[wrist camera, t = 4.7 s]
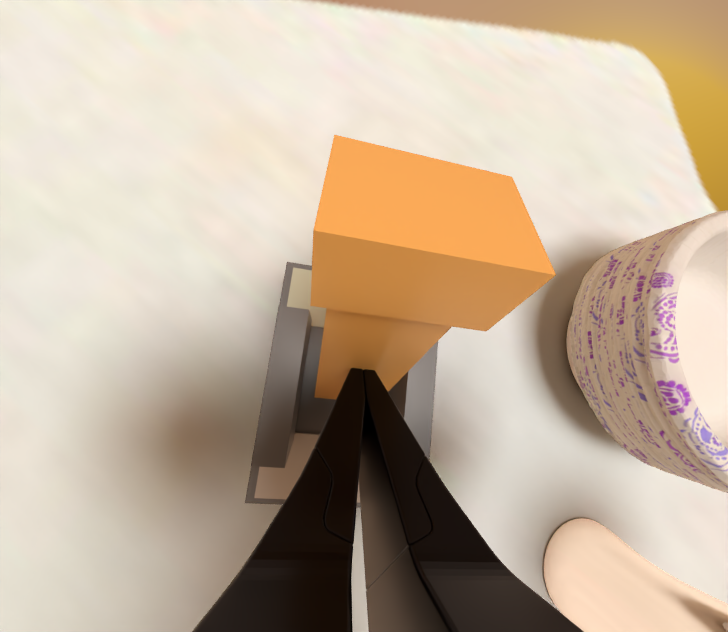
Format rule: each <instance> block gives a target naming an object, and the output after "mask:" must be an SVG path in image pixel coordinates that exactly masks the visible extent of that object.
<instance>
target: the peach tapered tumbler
mask: <svg viewBox="0 0 728 632" xmlns="http://www.w3.org/2000/svg"><path fill="white" fill-rule="evenodd" d="M544 579H545V584H546V587H547V590H548V593H549V595H550V597H551V599H552V601H553V603H554V604H555V606H556V607H557V608H558V610H559V611H560V612H561V613H562V614H563V615H564V616H565V617H566V618H568V619H569V620H570V621H571V622H573V623H574V624H575V625H576V626H578V627H579V628H580V629H581V630H583V631H584V632H728V604H727V603H725V602H723V601H721V600H719V599H717V598H714V597H712V596H710V595H708V594H706V593H704V592H702V591H700V590H698V589H696V588H694V587H692V586H690V585H688V584H686V583H684V582H682V581H680V580H679V579H677V578H675V577H674V576H672V575H670V574H668V573H667V572H665V571H663V570H661V569H660V568H658V567H657V566H655V565H654V564H652V563H651V562H649V561H648V560H646V559H645V558H644V557H642V556H641V555H640V554H638V553H637V552H636V551H635V550H633V549H632V548H631V547H630V546H629V545H627V544H626V543H625V542H624V541H622V540H621V539H620V538H619V537H618V536H616V535H615V534H614V533H613V532H611V531H610V530H609V529H607V528H606V527H605V526H603V525H602V524H600V523H598V522H596V521H593V520H591V519H586V518H578V519H573V520H570V521H568V522H566V523H565V524H563V525H562V526H560V527H559V528H558V529H557V530H556V532H555V533H554V534H553V536H552V537H551V539H550V541H549V543H548V546H547V549H546V552H545V557H544Z"/></svg>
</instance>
